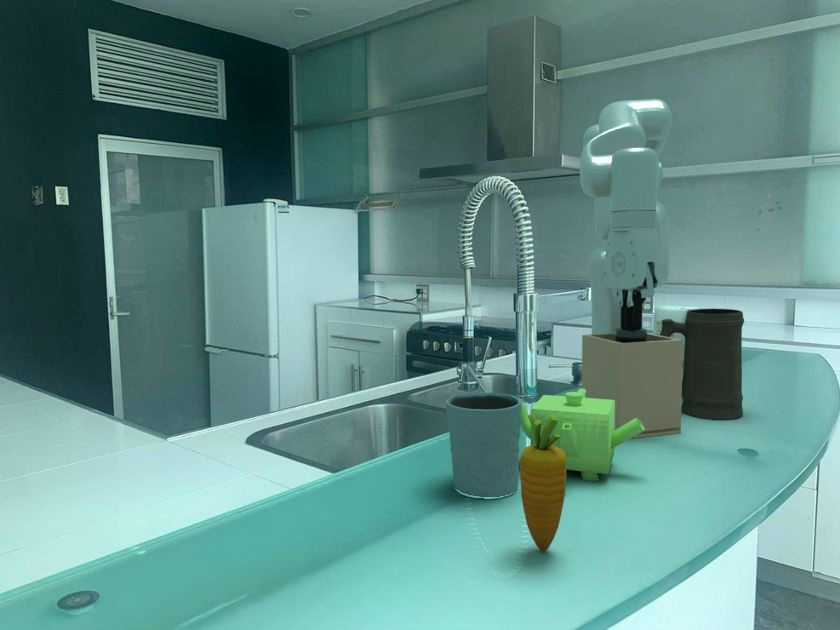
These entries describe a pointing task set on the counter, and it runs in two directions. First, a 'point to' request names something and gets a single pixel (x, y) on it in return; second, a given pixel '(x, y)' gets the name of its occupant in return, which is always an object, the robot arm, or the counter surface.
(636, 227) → the robot arm
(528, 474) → the carrot
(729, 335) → the beer stein
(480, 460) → the gray cup
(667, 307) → the juice carton
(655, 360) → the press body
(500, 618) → the counter surface
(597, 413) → the kettle
